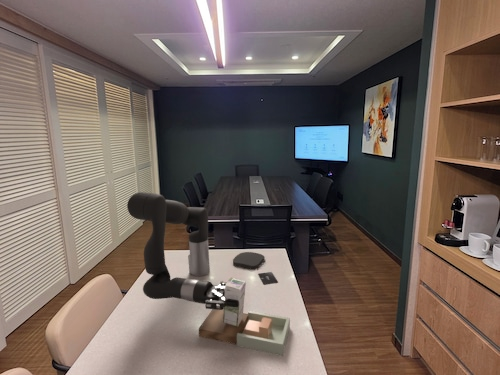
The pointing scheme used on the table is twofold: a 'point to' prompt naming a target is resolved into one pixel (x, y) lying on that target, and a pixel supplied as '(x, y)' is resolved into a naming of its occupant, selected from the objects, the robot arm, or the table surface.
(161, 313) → the table surface
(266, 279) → the solid state drive
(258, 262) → the media streaming box
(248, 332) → the tile
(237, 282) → the syrup box
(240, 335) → the tray
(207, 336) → the board
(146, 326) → the table surface
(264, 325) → the tile
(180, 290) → the robot arm
